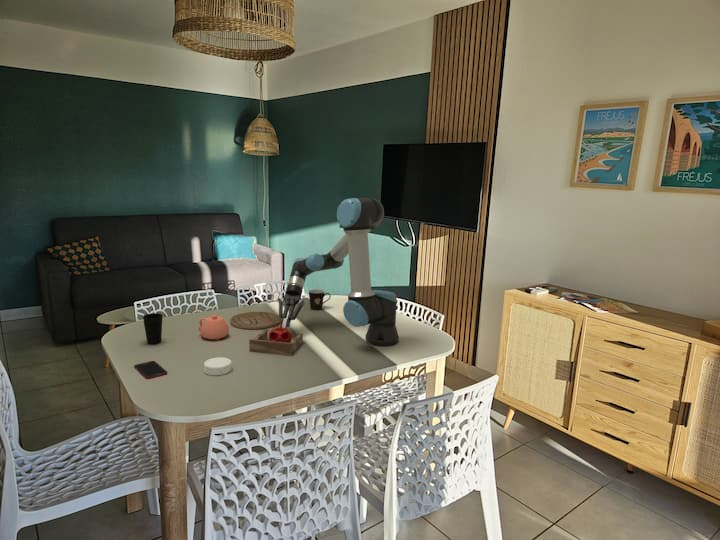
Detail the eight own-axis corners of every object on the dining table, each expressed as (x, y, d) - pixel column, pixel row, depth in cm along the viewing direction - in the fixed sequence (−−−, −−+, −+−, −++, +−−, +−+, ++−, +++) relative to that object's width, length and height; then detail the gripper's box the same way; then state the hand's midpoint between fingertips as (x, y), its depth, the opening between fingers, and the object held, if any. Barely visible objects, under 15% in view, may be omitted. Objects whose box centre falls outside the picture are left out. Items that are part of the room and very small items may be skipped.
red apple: (270, 340, 213) (270, 320, 211) (293, 340, 213) (293, 320, 211) (266, 348, 203) (266, 327, 201) (290, 348, 203) (290, 327, 201)
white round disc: (205, 377, 173) (205, 368, 172) (202, 367, 182) (202, 358, 181) (233, 373, 177) (233, 365, 176) (229, 364, 186) (229, 355, 185)
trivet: (270, 312, 255) (270, 309, 254) (288, 326, 234) (288, 322, 233) (223, 318, 242) (223, 315, 241) (238, 333, 221) (238, 329, 220)
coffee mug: (306, 310, 260) (306, 292, 258) (310, 306, 269) (311, 288, 267) (327, 311, 258) (327, 294, 256) (330, 307, 267) (331, 290, 265)
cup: (166, 342, 206) (165, 316, 203) (149, 346, 200) (147, 319, 198) (159, 338, 211) (157, 312, 208) (141, 342, 205) (139, 315, 203)
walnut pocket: (264, 338, 215) (264, 327, 214) (302, 342, 212) (302, 331, 211) (249, 351, 199) (249, 340, 198) (290, 355, 196) (290, 344, 195)
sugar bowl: (220, 342, 208) (220, 320, 205) (191, 339, 210) (190, 317, 208) (233, 334, 219) (233, 312, 217) (206, 331, 222) (205, 310, 220)
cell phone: (146, 380, 169) (146, 378, 169) (133, 367, 180) (133, 365, 180) (168, 375, 175) (168, 372, 174) (154, 362, 185) (154, 360, 185)
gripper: (309, 293, 228) (298, 337, 215) (283, 290, 230) (271, 334, 217) (306, 284, 221) (295, 330, 209) (279, 282, 224) (266, 327, 211)
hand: (282, 332), depth 213 cm, fingers closed
